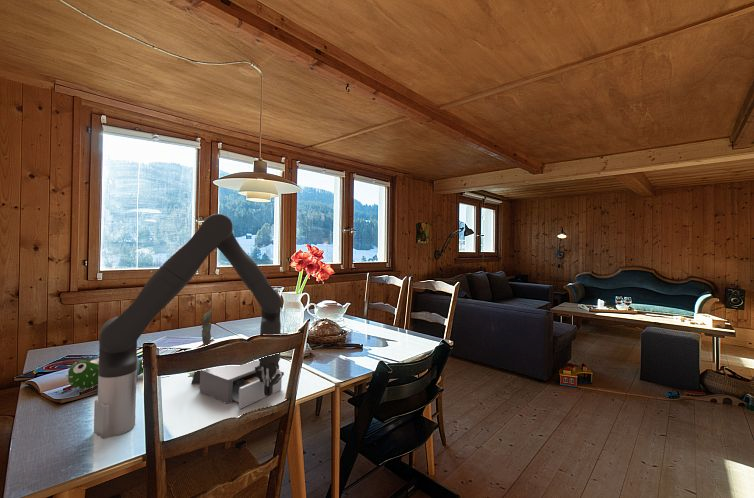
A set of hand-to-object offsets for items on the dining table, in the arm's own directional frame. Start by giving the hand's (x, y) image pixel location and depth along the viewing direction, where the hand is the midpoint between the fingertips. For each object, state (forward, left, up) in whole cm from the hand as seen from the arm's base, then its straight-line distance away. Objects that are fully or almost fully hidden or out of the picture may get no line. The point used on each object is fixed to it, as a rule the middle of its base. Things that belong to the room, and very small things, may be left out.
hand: (268, 395), depth 126 cm
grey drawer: (0, +11, -2) cm, 11 cm away
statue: (-2, +35, -3) cm, 35 cm away
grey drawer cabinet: (0, +18, -2) cm, 18 cm away
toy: (-22, +60, -3) cm, 64 cm away
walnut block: (0, +8, -1) cm, 8 cm away
